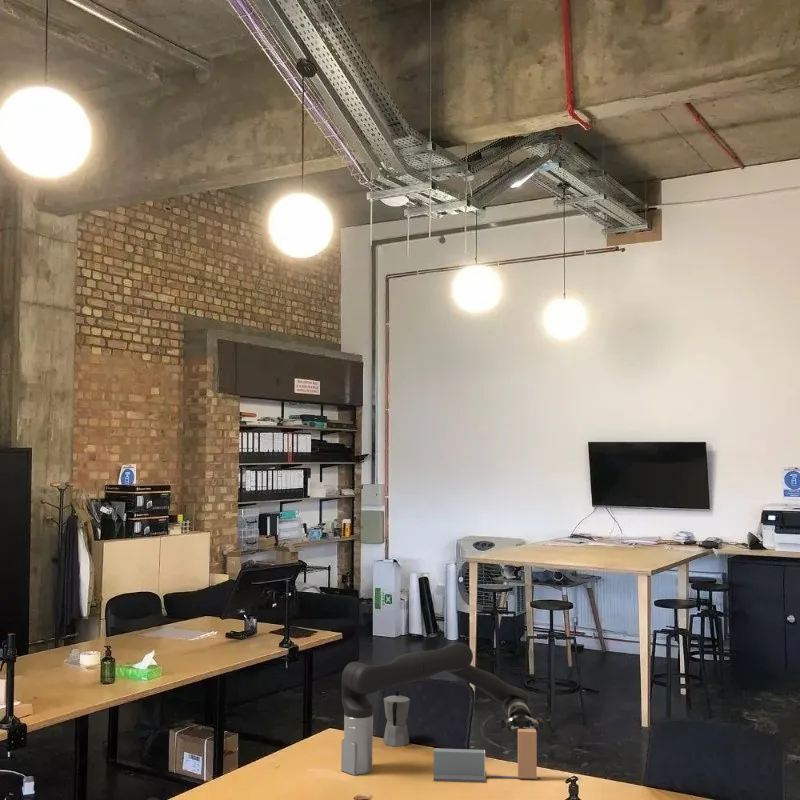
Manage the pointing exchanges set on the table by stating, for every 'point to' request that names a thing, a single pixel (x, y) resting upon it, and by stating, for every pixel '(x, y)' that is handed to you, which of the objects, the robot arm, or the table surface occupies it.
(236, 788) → the table surface
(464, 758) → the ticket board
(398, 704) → the coffeepot
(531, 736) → the stub
